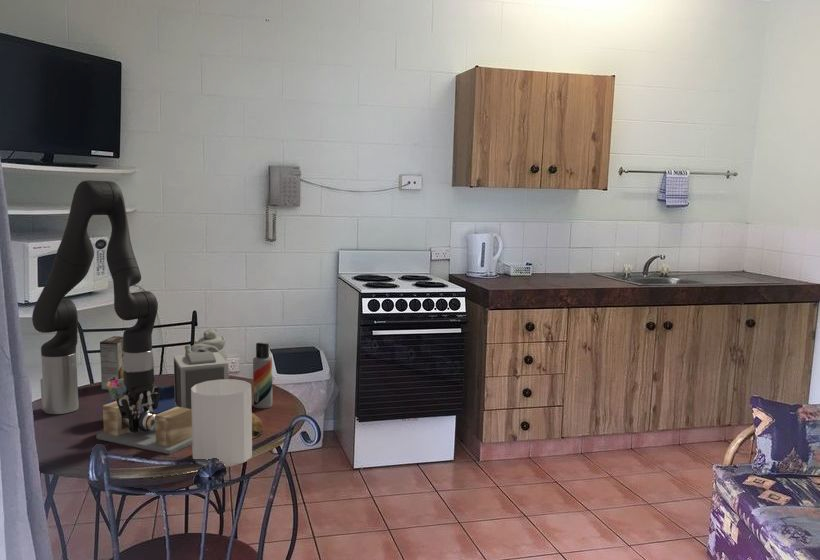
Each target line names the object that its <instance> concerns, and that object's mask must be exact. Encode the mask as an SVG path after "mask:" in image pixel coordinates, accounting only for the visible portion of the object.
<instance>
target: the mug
mask: <svg viewBox="0 0 820 560" xmlns="http://www.w3.org/2000/svg"><path fill="white" fill-rule="evenodd" d="M106 387H107V388H108V390H107V391H108V393H109V396H110V401H111V402H110V403H112V402H115V401H117V399H118V398H122V397H124V396H125V392H126V387H125V385H124V379H117V380H112V381H110V382H108V383H106Z"/></svg>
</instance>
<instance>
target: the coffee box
mask: <svg viewBox="0 0 820 560" xmlns="http://www.w3.org/2000/svg"><path fill="white" fill-rule="evenodd" d="M99 351H100V353H99V355H100V356H99V357H100V376H101V377H100V379H101V390H105V391H109V390H108V388H107V387H106V383H108V382H110V381H112V380H117V379H124V374H123V355H124V345H123V336H120V335H119V336H114V335H113V336H111V337H108V338H107V339H103V340H102V341H100V342H99Z"/></svg>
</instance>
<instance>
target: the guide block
mask: <svg viewBox="0 0 820 560" xmlns="http://www.w3.org/2000/svg"><path fill="white" fill-rule="evenodd" d="M132 406H133V407H136V406H135V405H132ZM133 411H134V410H133ZM138 412H141V409H140V410H139V411H138ZM102 418H103V419H102V420H103V432H104V433H106V434H111V435H116V436H119V435H122V434H124V433H127V432H129V431H130V430H129V425H124V424H122V420H121V413H120V410H119V407H118V404H117V401H115V402H110V403H109V402H108V403H106V404H104V405H102Z"/></svg>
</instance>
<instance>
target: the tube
mask: <svg viewBox="0 0 820 560" xmlns="http://www.w3.org/2000/svg"><path fill="white" fill-rule="evenodd" d="M133 412H134V411H133ZM133 412H132V414H133ZM155 415H156V414H155V413H154V411H153V412H152V411H144V412H143V411H140V412H138V416H137V419H138V428H139V429H140V430H141V431H145V432H148V431H150V430H155ZM121 420H122V424H124V425H129V419H127V418H122V416H121Z"/></svg>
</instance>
